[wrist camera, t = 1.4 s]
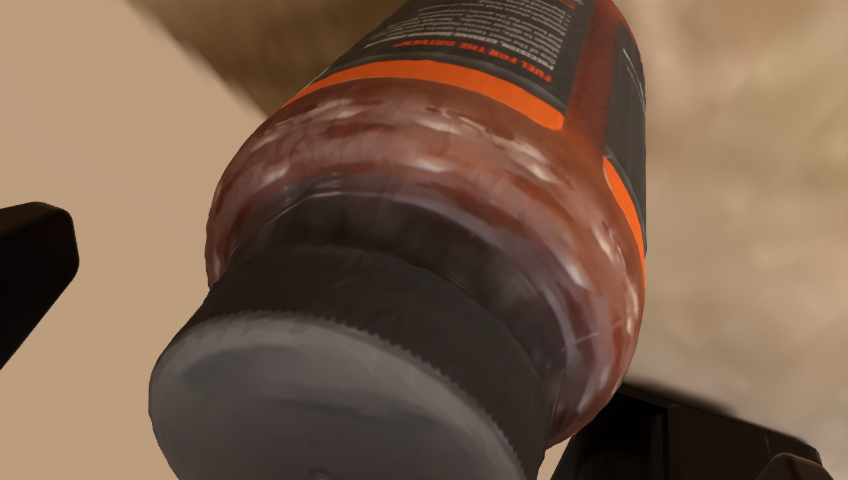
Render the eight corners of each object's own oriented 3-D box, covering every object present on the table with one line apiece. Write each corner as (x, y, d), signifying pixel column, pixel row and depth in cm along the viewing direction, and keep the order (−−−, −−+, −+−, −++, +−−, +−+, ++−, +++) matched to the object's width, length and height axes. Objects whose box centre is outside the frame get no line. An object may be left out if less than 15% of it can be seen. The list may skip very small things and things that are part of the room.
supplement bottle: (354, 6, 15) (-71, 279, 6) (605, -99, 13) (510, 102, 4) (446, 217, 18) (238, 635, 9) (672, 165, 15) (714, 680, 6)
